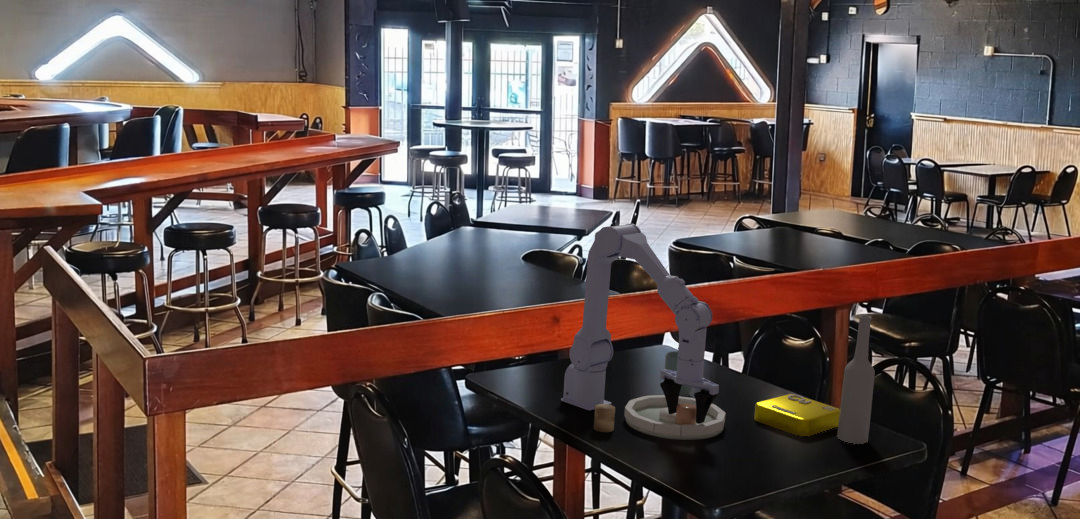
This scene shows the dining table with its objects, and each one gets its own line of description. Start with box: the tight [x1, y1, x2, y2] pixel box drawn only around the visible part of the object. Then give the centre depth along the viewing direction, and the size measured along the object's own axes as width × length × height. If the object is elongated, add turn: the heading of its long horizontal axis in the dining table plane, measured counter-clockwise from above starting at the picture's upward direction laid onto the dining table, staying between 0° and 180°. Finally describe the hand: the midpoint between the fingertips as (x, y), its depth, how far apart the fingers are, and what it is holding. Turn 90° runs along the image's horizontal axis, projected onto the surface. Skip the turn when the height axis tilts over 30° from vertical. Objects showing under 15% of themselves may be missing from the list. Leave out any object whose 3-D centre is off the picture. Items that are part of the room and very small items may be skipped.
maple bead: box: [593, 404, 616, 433], centre depth 230 cm, size 4×4×5 cm
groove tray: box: [623, 394, 726, 441], centre depth 236 cm, size 22×22×3 cm
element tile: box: [753, 393, 840, 437], centre depth 241 cm, size 15×15×5 cm
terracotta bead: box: [676, 403, 696, 425], centre depth 230 cm, size 4×4×5 cm
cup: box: [663, 350, 694, 397], centre depth 257 cm, size 8×8×10 cm
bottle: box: [836, 314, 876, 445], centre depth 229 cm, size 7×7×28 cm
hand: (686, 417), depth 230 cm, fingers open, 7 cm apart
